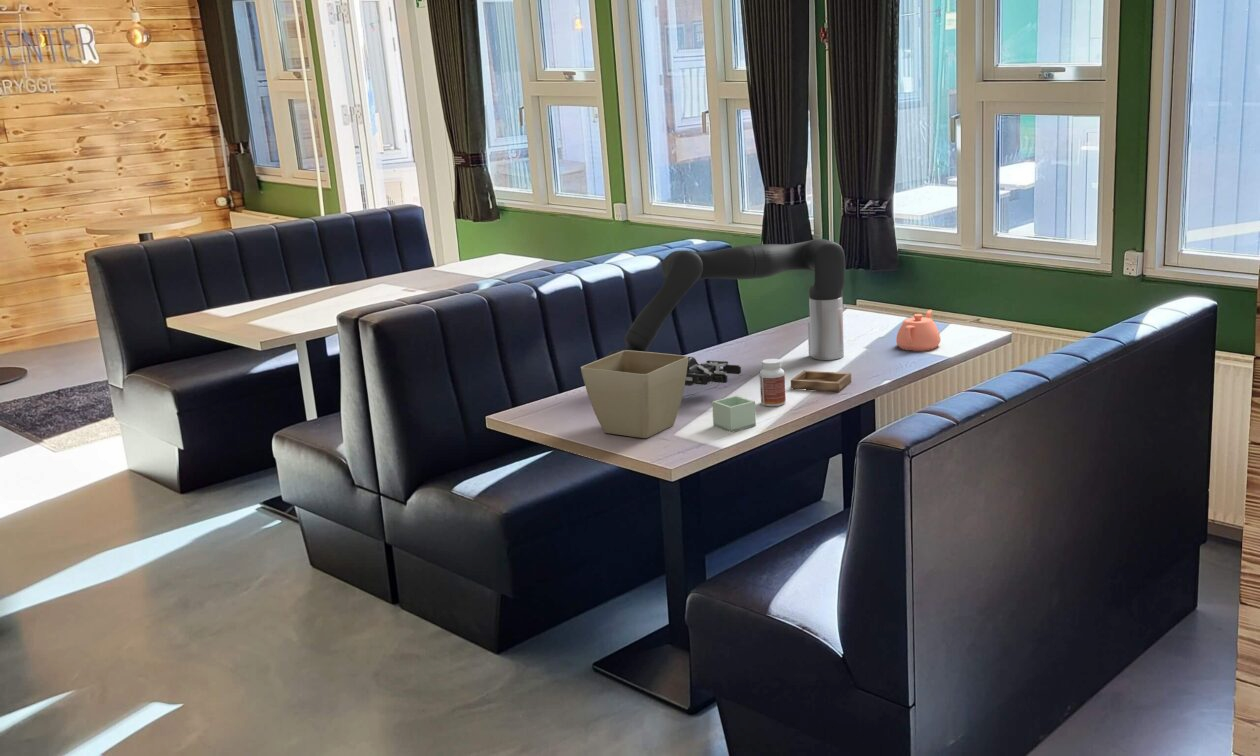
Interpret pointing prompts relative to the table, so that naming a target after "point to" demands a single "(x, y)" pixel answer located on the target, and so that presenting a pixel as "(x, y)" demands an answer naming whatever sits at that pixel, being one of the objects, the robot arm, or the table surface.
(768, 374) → the pill bottle
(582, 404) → the table surface
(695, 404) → the table surface
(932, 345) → the teapot
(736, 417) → the pale green bin
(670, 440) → the table surface
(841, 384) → the tray
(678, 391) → the flower pot
